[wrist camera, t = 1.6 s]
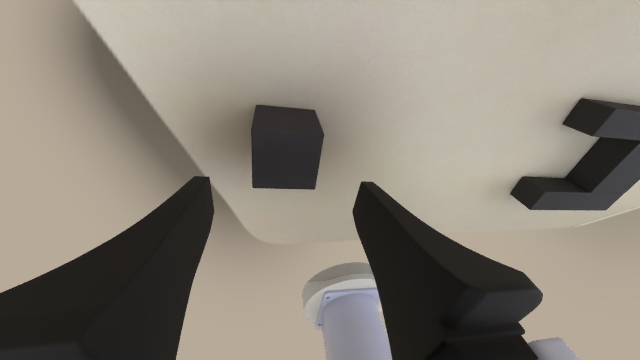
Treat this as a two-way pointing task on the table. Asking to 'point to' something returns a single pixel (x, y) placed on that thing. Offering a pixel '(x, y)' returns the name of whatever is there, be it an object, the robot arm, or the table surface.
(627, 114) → the dark grey piece
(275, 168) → the dark grey cube
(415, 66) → the table surface
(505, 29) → the table surface
